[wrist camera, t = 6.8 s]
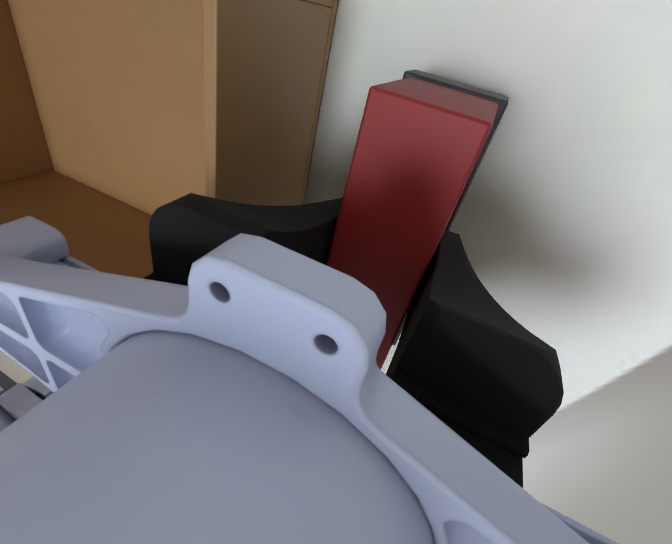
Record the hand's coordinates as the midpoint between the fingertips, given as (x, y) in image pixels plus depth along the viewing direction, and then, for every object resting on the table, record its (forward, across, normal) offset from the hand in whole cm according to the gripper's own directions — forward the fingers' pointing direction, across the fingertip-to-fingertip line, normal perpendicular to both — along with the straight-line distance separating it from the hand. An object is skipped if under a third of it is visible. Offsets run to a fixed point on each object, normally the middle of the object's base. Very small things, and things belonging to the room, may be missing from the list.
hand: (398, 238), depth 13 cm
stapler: (+1, 0, 0) cm, 1 cm away
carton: (+3, +14, 0) cm, 14 cm away
